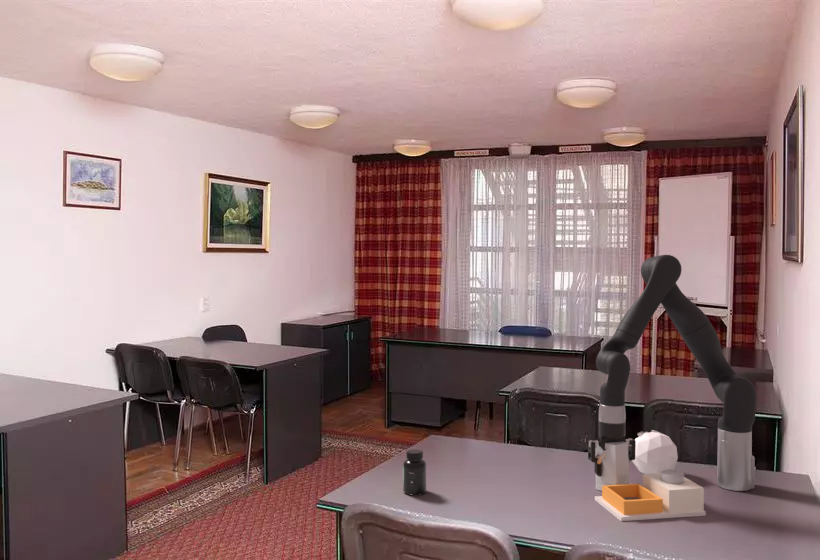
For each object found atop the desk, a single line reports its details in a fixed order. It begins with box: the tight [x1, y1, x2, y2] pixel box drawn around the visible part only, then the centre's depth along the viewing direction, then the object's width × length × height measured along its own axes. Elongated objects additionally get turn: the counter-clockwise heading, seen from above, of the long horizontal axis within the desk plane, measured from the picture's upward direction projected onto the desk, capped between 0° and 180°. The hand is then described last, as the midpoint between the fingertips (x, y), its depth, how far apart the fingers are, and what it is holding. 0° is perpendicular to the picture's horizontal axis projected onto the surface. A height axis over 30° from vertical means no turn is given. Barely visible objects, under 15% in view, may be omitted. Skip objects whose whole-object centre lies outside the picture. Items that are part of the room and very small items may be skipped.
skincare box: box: [594, 439, 630, 492], centre depth 202 cm, size 8×6×15 cm
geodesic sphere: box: [631, 429, 679, 474], centre depth 217 cm, size 15×14×14 cm
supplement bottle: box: [402, 448, 427, 496], centre depth 201 cm, size 7×7×12 cm
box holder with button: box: [594, 470, 707, 522], centre depth 189 cm, size 24×16×9 cm, turn 99°
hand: (611, 475), depth 202 cm, fingers closed on skincare box, 7 cm apart
